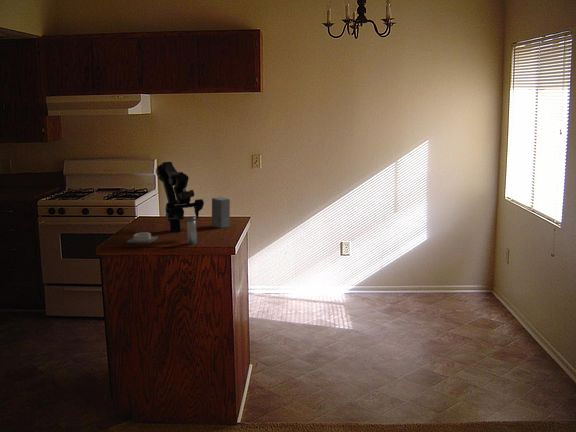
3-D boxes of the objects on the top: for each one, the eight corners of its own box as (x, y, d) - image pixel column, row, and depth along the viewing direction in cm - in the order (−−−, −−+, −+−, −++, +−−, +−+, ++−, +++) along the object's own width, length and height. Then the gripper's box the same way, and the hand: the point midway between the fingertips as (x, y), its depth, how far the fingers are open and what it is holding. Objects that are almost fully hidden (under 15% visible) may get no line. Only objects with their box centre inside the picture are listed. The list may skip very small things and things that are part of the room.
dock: (136, 237, 327) (135, 231, 326) (158, 238, 324) (157, 232, 324) (126, 242, 316) (126, 236, 315) (149, 243, 314) (148, 237, 313)
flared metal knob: (189, 242, 314) (187, 216, 311) (199, 242, 313) (197, 216, 310) (186, 244, 309) (184, 218, 306) (195, 244, 308) (194, 218, 305)
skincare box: (211, 226, 347) (209, 198, 344) (221, 224, 352) (220, 196, 349) (221, 228, 341) (219, 199, 338) (231, 226, 346) (230, 197, 343)
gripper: (165, 186, 310) (172, 212, 302) (201, 183, 318) (209, 208, 310) (162, 200, 319) (169, 225, 311) (198, 196, 326) (205, 221, 319)
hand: (188, 219), depth 312 cm, fingers open, 9 cm apart
